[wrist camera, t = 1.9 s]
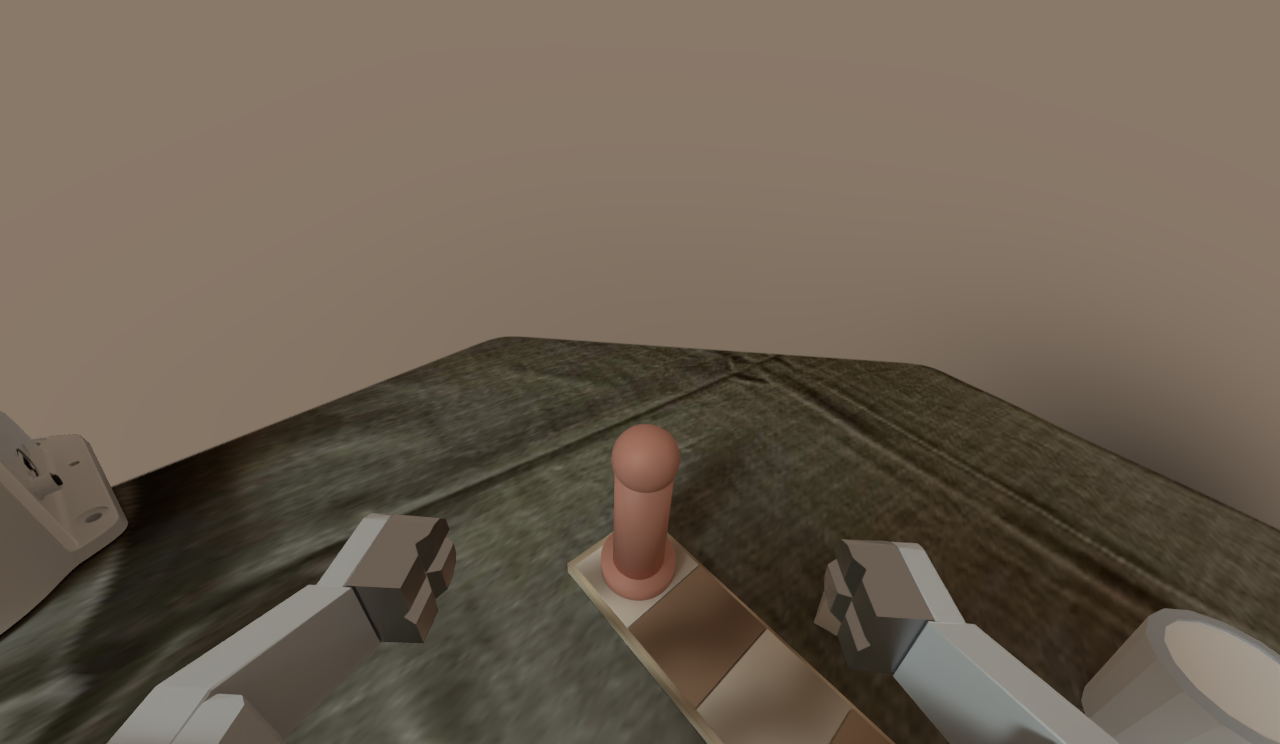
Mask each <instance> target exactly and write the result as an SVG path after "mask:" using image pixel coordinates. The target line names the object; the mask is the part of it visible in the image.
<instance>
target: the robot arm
mask: <svg viewBox="0 0 1280 744" xmlns="http://www.w3.org/2000/svg"><path fill="white" fill-rule="evenodd" d="M127 526H128V521H127V519H126V517H125V515H124V513H123V511H122V509H121V507H120V505H119V502H118V500H117V498H116V496H115V494H114V492H113V490H112V488H111V486H110V484H109V482H108V480H107V478H106V476H105V474H104V472H103V470H102V468H101V466H100V464H99V462H98V460H97V458H96V456H95V454H94V452H93V450H92V448H91V446H90V444H89V443H88V442H87V441H86V440H85V439H84V438H83V437H82V436H80V435H75V434H73V435H58V436H50V437H43V438H37V439H31V438H30V437H29V436H28V435H27V434H26V433H25V432H24V431H23V430H22V429H21V428H20V427H19V426H18V425H17V424H16V423H15V422H14V421H13V420H12V419H11V418H10V417H8V416H7V415H6V414H5V413H3V412H1V411H0V634H2V633H3V632H4V631H6V630H7V629H8V628H10V627H11V626H12V625H14V624H15V623H16V622H17V621H19V620H20V619H21V618H22V617H24V616H25V615H26V614H27V613H28V612H30V611H31V610H32V609H33V608H34V607H35V606H36V605H37V604H39V603H40V602H41V601H42V600H43V599H44V598H45V597H46V596H47V595H48V594H49V593H50V592H51V591H52V590H53V589H54V588H55V587H56V586H57V585H58V584H59V583H60V582H61V581H62V580H63V579H64V578H65V577H66V576H67V575H68V574H69V573H70V572H71V571H72V570H73V569H74V568H75V567H76V566H78V565H79V564H80V563H81V562H83V561H84V560H86V559H87V558H89V557H90V556H92V555H93V554H95V553H96V552H98V551H99V550H101V549H102V548H103V547H105V546H106V545H108V544H109V543H110V542H112V541H113V540H114V539H116V538H117V537H118V536H119V535H120V534H122V533H123V531H124V530H125V529H126V528H127ZM448 531H449V527H448V524H447V521H446V519H442V518H430V517H418V516H406V515H393V514H378V513H371V514H369V515H368V516H367V517H365V518H364V519H363V520H362V521H361V522H360V524H359V525H358V527H357V528H356V530H355V531H354V532H353V534H352V535H351V537H350V538H349V539H348V541H347V542H346V544H345V545H344V546H343V548H342V549H341V551H340V552H339V554H338V555H337V556H336V558H335V559H334V561H333V562H332V563H331V565H330V566H329V568H328V569H327V571H326V572H325V573H324V575H323V576H322V578H321V579H320V580H319V582H318V583H317V585H308V586H306V587H305V588H303V589H302V590H300V591H299V592H297V593H296V594H294V595H293V596H291V597H290V598H288V599H287V600H285V601H284V602H282V603H281V604H279V605H278V606H276V607H275V608H273V609H271V610H270V611H268V612H267V613H265V614H264V615H262V616H261V617H259V618H258V619H256V620H255V621H253V622H252V623H250V624H249V625H247V626H246V627H244V628H243V629H241V630H240V631H238V632H237V633H235V634H234V635H232V636H231V637H229V638H228V639H226V640H225V641H223V642H222V643H220V644H219V645H217V646H216V647H214V648H213V649H211V650H210V651H208V652H207V653H205V654H204V655H202V656H201V657H199V658H198V659H196V660H195V661H193V662H192V663H190V664H189V665H187V666H186V667H184V668H183V669H181V670H180V671H178V672H177V673H175V674H174V675H172V676H171V677H169V678H168V679H166V680H165V681H163V682H162V683H160V684H159V685H157V686H156V687H155V688H154V689H153V690H152V691H151V692H150V694H149V695H148V696H147V697H146V698H145V700H144V701H143V702H142V703H141V704H140V705H139V707H138V708H137V709H136V710H135V711H134V712H133V714H132V715H131V716H130V717H129V718H128V719H127V721H126V722H125V723H124V724H123V725H122V726H121V728H120V729H119V730H118V731H117V732H116V733H115V735H114V736H113V737H112V738H111V739H110V740H109V742H108V743H107V744H288V743H287V742H286V741H285V740H284V738H285V737H286V736H287V735H288V734H289V733H290V732H291V731H293V730H294V729H295V728H296V727H297V726H298V725H299V724H300V723H301V722H302V721H303V720H304V719H305V718H306V717H307V716H308V715H309V714H310V713H311V712H312V711H313V710H314V709H315V708H316V707H317V706H318V705H319V704H320V703H321V702H322V701H323V700H324V699H325V698H327V697H328V696H329V695H330V694H331V693H332V692H333V691H334V690H335V689H336V688H337V687H338V686H339V685H340V684H341V683H342V682H343V681H344V680H345V679H346V678H347V677H348V676H349V675H350V674H351V673H352V672H353V671H354V670H355V669H356V668H357V667H358V666H359V665H361V664H362V663H363V662H364V661H365V660H366V659H367V658H368V657H369V656H370V655H371V654H372V653H373V652H374V651H375V650H376V649H377V648H378V647H379V646H380V645H381V643H380V642H403V643H424V641H425V639H426V637H427V635H428V632H429V630H430V628H431V626H432V623H433V621H434V619H435V616H436V614H437V612H438V607H437V604H436V600H435V599H436V598H437V597H439V596H440V595H441V594H442V593H443V592H445V591H446V590H447V589H448V586H449V584H450V582H451V579H452V577H453V573H454V568H455V563H456V550H455V547H454V543H453V542H451V541H450V540H449V539H448V538H446V535H447V533H448ZM833 551H834V554H835V556H836V559H835V560H834V561H832V562H831V563H829V564H828V566H827V569H826V572H825V576H824V589H825V595H826V600H827V604H828V607H829V610H830V612H831V613H832V614H833V615H834V616H835V617H836V618H837V619H838V620H839V621H840V622H841V625H840V628H839V630H838V633H837V636H838V639H839V642H840V645H841V648H842V651H843V654H844V657H845V660H846V664H847V667H848V670H859V671H871V672H882V673H893V674H894V675H893V677H894V678H895V679H896V680H897V681H898V683H899V684H900V685H901V686H902V687H903V689H904V690H905V691H906V692H907V693H908V695H909V696H910V697H911V698H912V699H913V701H914V702H915V703H916V704H917V705H918V706H919V708H920V709H921V710H922V711H923V712H924V714H925V715H926V716H927V717H928V718H929V720H930V721H931V722H932V723H933V724H934V726H935V727H936V728H937V729H938V730H939V732H940V733H941V734H942V735H943V736H944V738H945V739H946V740H947V741H948V742H949V743H950V744H1120V743H1119V742H1118V741H1116V740H1115V739H1114V738H1113V737H1111V736H1110V735H1109V734H1108V733H1107V732H1105V731H1104V730H1103V729H1102V728H1100V727H1099V726H1098V725H1097V724H1096V723H1094V722H1093V721H1092V720H1091V719H1089V718H1088V717H1087V716H1086V715H1085V714H1083V713H1082V712H1081V711H1080V710H1078V709H1077V708H1076V707H1075V706H1074V705H1072V704H1071V703H1070V702H1069V701H1068V700H1066V699H1065V698H1064V697H1063V696H1061V695H1060V694H1059V693H1058V692H1057V691H1055V690H1054V689H1053V688H1052V687H1050V686H1049V685H1048V684H1047V683H1046V682H1044V681H1043V680H1042V679H1041V678H1039V677H1038V676H1037V675H1036V674H1035V673H1033V672H1032V671H1031V670H1030V669H1029V668H1027V667H1026V666H1025V665H1024V664H1022V663H1021V662H1020V661H1019V660H1018V659H1016V658H1015V657H1014V656H1013V655H1011V654H1010V653H1009V652H1008V651H1007V650H1005V649H1004V648H1003V647H1002V646H1000V645H999V644H998V643H997V642H996V641H994V640H993V639H992V638H991V637H990V636H988V635H987V634H986V633H985V632H983V631H982V630H981V629H980V628H979V627H977V626H976V625H975V624H968V623H966V622H965V620H964V619H963V617H962V615H961V613H960V612H959V610H958V608H957V606H956V605H955V603H954V601H953V599H952V598H951V596H950V594H949V592H948V591H947V589H946V587H945V585H944V584H943V582H942V580H941V579H940V577H939V575H938V573H937V572H936V570H935V568H934V566H933V565H932V563H931V561H930V559H929V558H928V556H927V554H926V552H925V551H924V549H923V548H922V547H921V546H920V545H919V544H918V543H904V542H889V541H873V540H848V539H841V540H839V541H838V542H837V543H836V545H835V548H834V550H833Z"/></svg>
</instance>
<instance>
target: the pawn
mask: <svg viewBox="0 0 1280 744" xmlns="http://www.w3.org/2000/svg"><path fill="white" fill-rule="evenodd" d="M679 464H680V454H679V449H678V446H677V444H676V442H675V440H674V439H673V437H672V436H671V435H670V434H669V433H668V432H667V431H666V430H664V429H663V428H661V427H658V426H655V425H651V424H640V425H636V426H633V427H631V428H629V429H627V430H626V431H625V432H623V433H622V434H621V435H620V436H619V438H618V439H617V441H616V443H615V445H614V447H613V451H612V467H613V470H614V473H615V488H614V533H612V534H611V535H610V536H609V537H608V538H607V540H606V541H605V543H604V545H603V548H602V552H601V572H602V576H603V579H604V581H605V583H606V584H607V585H608V587H609V588H610V589H611V590H612V591H613V592H614V593H616V594H617V595H619V596H621V597H623V598H625V599H629V600H634V601H643V600H648V599H652V598H654V597H656V596H658V595H660V594H661V593H663V592H664V591H665V590H666V589H667V588H668V586H669V585H670V583H671V581H672V579H673V576H674V571H675V564H676V554H675V550H674V547H673V545H672V543H671V542H670V540H669V539H668V538H667V531H668V523H669V515H670V507H671V499H672V491H673V483H674V478H675V476H676V474H677V472H678V469H679Z"/></svg>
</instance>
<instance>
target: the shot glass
mask: <svg viewBox="0 0 1280 744" xmlns="http://www.w3.org/2000/svg"><path fill="white" fill-rule="evenodd" d="M1081 702H1082V706H1083V709H1084V713H1085V715H1086V716H1087V717H1088V718H1089V719H1091V720H1092V721H1093V722H1094V723H1096V724H1097V725H1098V726H1099V727H1100V728H1102V729H1103V730H1104V731H1105V732H1107V733H1108V734H1109V735H1110V736H1111V737H1113V738H1114V739H1115V740H1116V741H1118V742H1119V743H1120V744H1280V655H1279V654H1277V653H1276V652H1274V651H1273V650H1272V649H1270V648H1269V647H1267V646H1266V645H1265V644H1263V643H1262V642H1260V641H1258V640H1256V639H1254V638H1252V637H1250V636H1249V635H1247V634H1245V633H1243V632H1241V631H1239V630H1237V629H1236V628H1234V627H1232V626H1230V625H1228V624H1226V623H1224V622H1222V621H1219V620H1216V619H1213V618H1210V617H1207V616H1205V615H1202V614H1199V613H1196V612H1193V611H1190V610H1178V609H1166V608H1164V609H1162V610H1160V611H1158V612H1156V613H1154V614H1152V615H1150V616H1148V617H1147V618H1146V619H1145V621H1144V622H1143V623H1142V624H1141V625H1140V626H1139V627H1138V628H1137V629H1136V630H1135V632H1134V633H1133V634H1132V635H1131V636H1130V637H1129V638H1128V639H1127V640H1126V642H1125V643H1124V644H1123V645H1122V646H1121V647H1120V648H1119V649H1118V650H1117V651H1116V653H1115V654H1114V655H1113V656H1112V657H1111V658H1110V659H1109V660H1108V661H1107V662H1106V664H1105V665H1104V666H1103V667H1102V668H1101V669H1100V670H1099V671H1098V672H1097V674H1096V675H1095V676H1094V677H1093V678H1092V679H1091V680H1090V681H1089V682H1088V683H1087V685H1086V686H1085V687H1084V691H1083V695H1082V699H1081Z"/></svg>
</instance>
